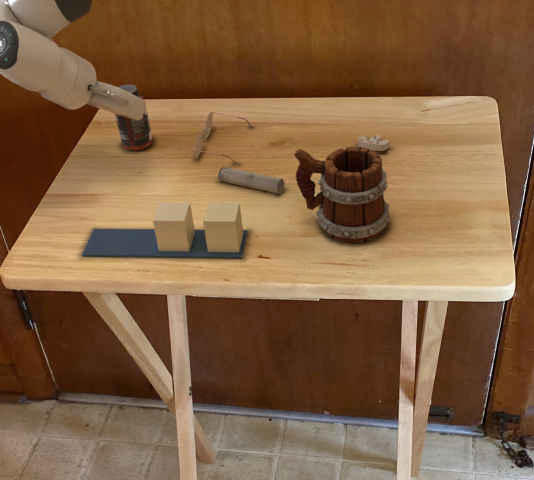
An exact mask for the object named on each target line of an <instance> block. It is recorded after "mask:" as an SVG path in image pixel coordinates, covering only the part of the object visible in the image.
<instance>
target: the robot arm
mask: <svg viewBox="0 0 534 480" xmlns="http://www.w3.org/2000/svg"><path fill="white" fill-rule="evenodd" d="M92 5H93V0H0V75H1V76H2V77H4V78H6V79H7V80H8V81H10V82H11V83H13V84H16V85H17V86H19V87H21V88H23V89H25V90H27V91H29V92H33V93H39V95H41V97H42V98H44V99H46V100H47V101H49V102H52V103H53V104H56V105H57V106H60V107H62V108H64V109H66V110H70V111H71V110H72V111H73V110H78V109H80V108H82V107H83V106H85V105H88V106H91V107H94V108H97V109H100V110H103V111H106V112H109V113H111V114H112V113H113V114H114V115H115V114H118V115H121V116H124V117H127V118H130V119H133V120H137V121H139V120H140V119H142V117H143V114H144V110H145V107H146V108H147V104H146V103H147V102H146V100H145V99H144V100H145V101H144V100H142V99H141V98H139V97H137V96H135V95H133V94H131V93H129V92H127V91H125V90H123V89H121V88H118V87H119V86H116V85H113V84H110V83H106V82H102V81H99V80H98V79H97V72H96V69H95V67H94V65H93V64H92V62H90V61H89V60H87V59H85V58H84V57H82V56H80V55H78V54H77V53H75V52H73V51H71V50H70V49H68V48H65V47H60V46H58V44H57V43H56V42H55V41H53V37H55V36H56V35H57V34H59V33H60V32H61V31H62V30H64V29H65V28H67V27H68V26H69V25H70V24H73V23H75V22H76V21H78V20H80V19H81V18H83V17H85V16H87V15H88V14H89V13H90V11H91V8H92Z"/></svg>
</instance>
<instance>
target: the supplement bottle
mask: <svg viewBox="0 0 534 480" xmlns="http://www.w3.org/2000/svg"><path fill="white" fill-rule="evenodd" d="M117 87H118V88H121V89H123V90H125V91H127V92H129V93H131V94H133V95H135V96H137V97H139V98H141V99H142V100H144V101H145V102H146V100H145V97H143V95H140V94H139V91H138V87H137V86H136V85H134V84H124V85H121V86H117ZM114 116H115V120H116V124H117V128H118V134H119V137H120V141H121V144H122V147H123V148H124V149H126V150H127V151H141V150H144V149H147V148H148V147H150V146H151V145H152V143H153V133H152V128H151V123H150V119H149V114H148V109H147V106H146V107H145V110H144V114H143V117H142V119H140V120H139V121H137V120H133V119H130V118H127V117H124V116H121V115H118V114H115V113H114Z"/></svg>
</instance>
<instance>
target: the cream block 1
mask: <svg viewBox="0 0 534 480" xmlns="http://www.w3.org/2000/svg"><path fill="white" fill-rule="evenodd" d="M152 223H153V229H155V234H156V239H157V243H158V248H159V251H178V252H189V251H190V248H191V245H192V242H193V238H194V235H195V230H196V229H195V223H194V218H193V211H192V206H191V202H178V201H177V202H176V201H175V202H174V201H173V202H171V201H170V202H165V201H163V202H161V201H160V202H158V205H157V208H156V211H155V213H154V217H153V218H152Z"/></svg>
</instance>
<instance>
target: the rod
mask: <svg viewBox="0 0 534 480" xmlns="http://www.w3.org/2000/svg"><path fill="white" fill-rule="evenodd" d="M217 179H218V180H219V181H220V182H223V183H226V184H231V185H237V186H241V187H245V188H251V189H255V190H259V191H264V192H268V193H272V194H277V195H281V194H282V193H283V192H284V190H285V189H284V188H285V180H284V178H280V177H275V176H272V175H265V174H262V173H261V174H260V173H257V172H252V171H246V170H242V169H236V168H232V167H229V166H228V167H227V166H222V167H221V168H220V169H219V171H218V175H217Z"/></svg>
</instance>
